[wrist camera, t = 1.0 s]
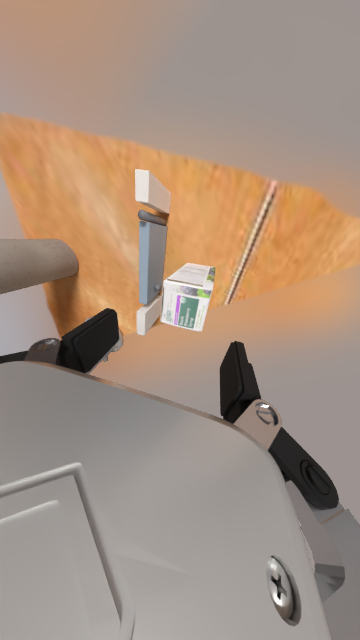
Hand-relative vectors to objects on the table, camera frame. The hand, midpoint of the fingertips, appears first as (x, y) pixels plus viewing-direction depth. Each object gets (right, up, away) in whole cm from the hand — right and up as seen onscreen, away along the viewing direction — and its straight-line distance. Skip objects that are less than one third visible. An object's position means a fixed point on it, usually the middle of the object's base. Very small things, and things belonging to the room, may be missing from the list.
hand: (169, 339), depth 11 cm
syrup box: (+5, +10, +18) cm, 21 cm away
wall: (-3, +12, +18) cm, 22 cm away
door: (-2, +14, +17) cm, 22 cm away
